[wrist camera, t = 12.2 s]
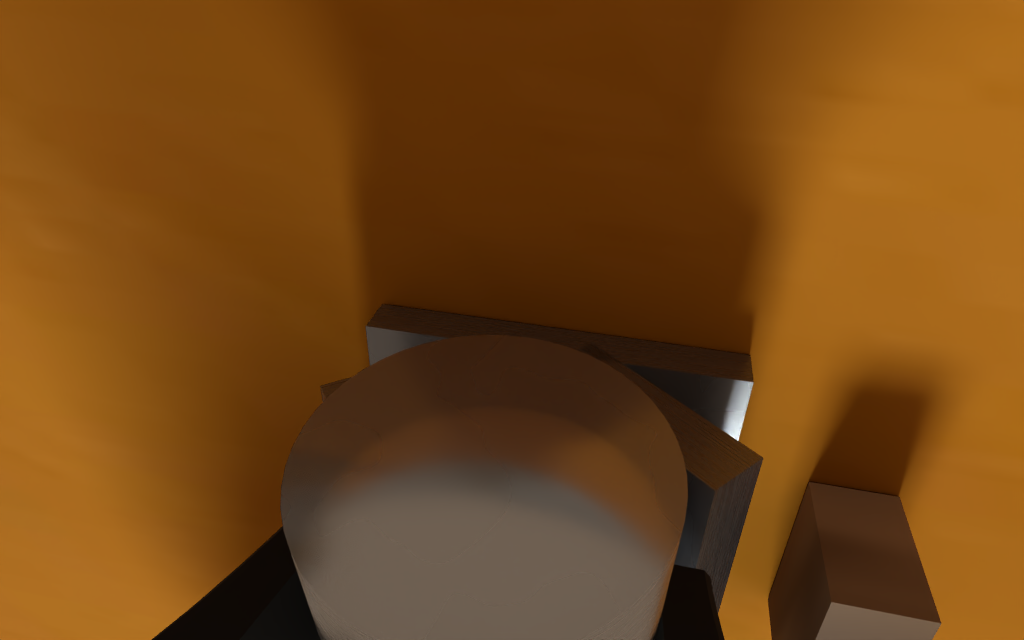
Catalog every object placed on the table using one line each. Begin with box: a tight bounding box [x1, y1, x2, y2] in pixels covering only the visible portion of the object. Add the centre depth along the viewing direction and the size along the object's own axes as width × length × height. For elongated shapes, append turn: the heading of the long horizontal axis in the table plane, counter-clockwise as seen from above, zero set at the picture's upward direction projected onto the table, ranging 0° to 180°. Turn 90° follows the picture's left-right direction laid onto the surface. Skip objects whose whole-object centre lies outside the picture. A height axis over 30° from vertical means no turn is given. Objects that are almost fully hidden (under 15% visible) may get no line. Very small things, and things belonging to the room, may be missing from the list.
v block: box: [320, 304, 763, 613], centre depth 15 cm, size 8×8×4 cm
